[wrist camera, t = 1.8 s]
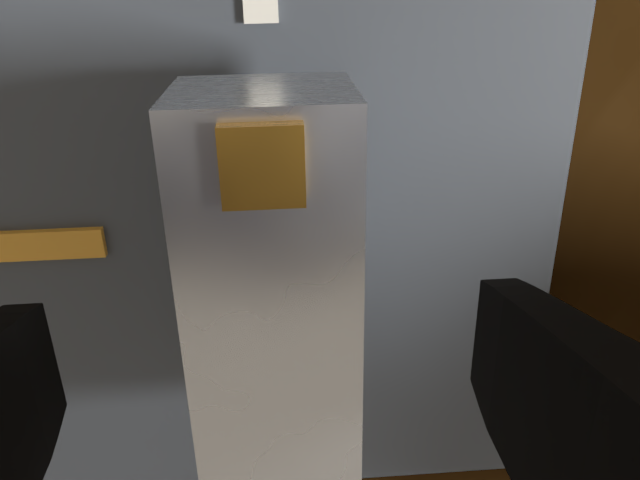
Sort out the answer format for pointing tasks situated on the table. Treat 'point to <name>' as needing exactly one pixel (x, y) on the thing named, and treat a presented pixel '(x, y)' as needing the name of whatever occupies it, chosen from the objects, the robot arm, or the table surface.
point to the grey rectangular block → (267, 268)
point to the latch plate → (381, 200)
